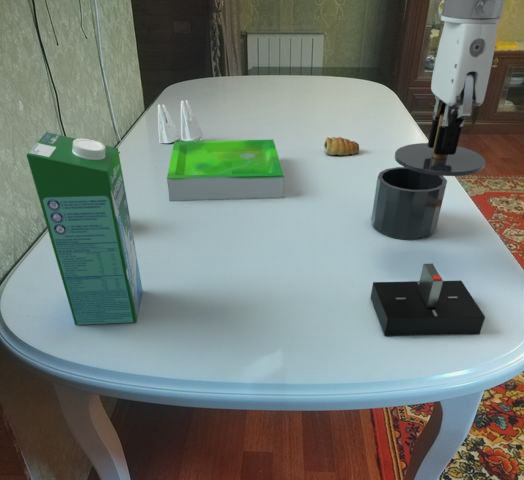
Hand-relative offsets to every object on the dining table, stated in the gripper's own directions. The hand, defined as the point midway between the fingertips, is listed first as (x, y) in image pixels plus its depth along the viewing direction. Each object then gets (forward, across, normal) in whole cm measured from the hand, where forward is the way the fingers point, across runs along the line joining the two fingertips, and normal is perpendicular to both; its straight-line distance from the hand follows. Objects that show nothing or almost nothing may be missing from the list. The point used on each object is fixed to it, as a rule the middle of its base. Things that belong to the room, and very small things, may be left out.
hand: (441, 149), depth 78 cm
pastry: (+19, +59, +5) cm, 62 cm away
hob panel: (+19, -17, +4) cm, 26 cm away
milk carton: (+20, -13, +52) cm, 57 cm away
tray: (+20, +41, +35) cm, 57 cm away
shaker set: (+20, +69, +48) cm, 86 cm away
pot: (+19, +14, -1) cm, 24 cm away
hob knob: (+16, -17, +4) cm, 24 cm away
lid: (+2, 0, 0) cm, 2 cm away
